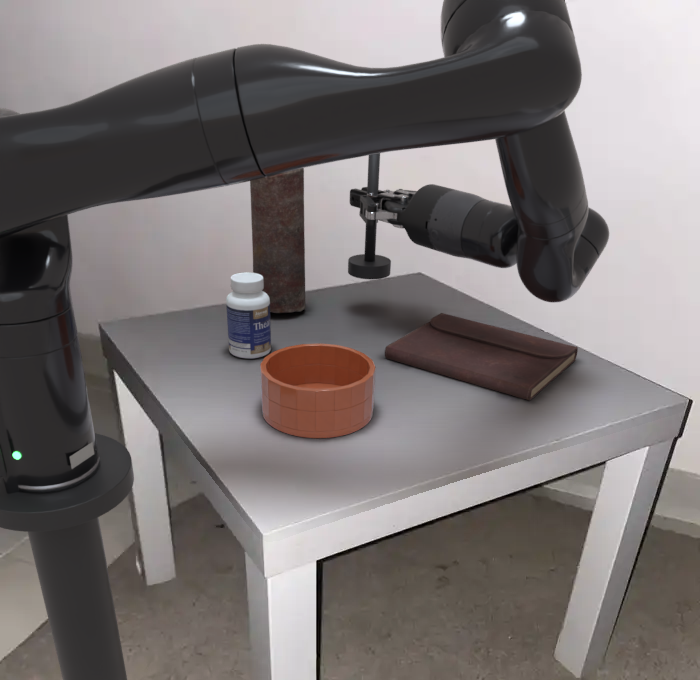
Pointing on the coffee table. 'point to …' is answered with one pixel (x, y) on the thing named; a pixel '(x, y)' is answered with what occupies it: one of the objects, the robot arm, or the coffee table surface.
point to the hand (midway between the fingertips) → (357, 195)
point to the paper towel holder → (370, 237)
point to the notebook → (484, 355)
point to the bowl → (317, 390)
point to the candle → (280, 238)
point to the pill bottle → (248, 316)
